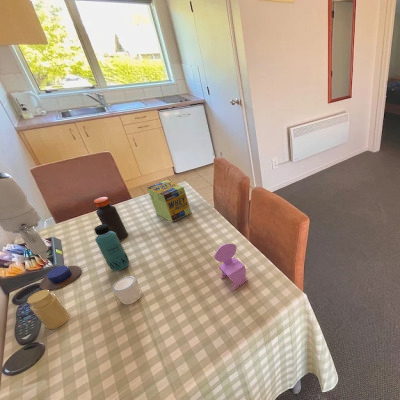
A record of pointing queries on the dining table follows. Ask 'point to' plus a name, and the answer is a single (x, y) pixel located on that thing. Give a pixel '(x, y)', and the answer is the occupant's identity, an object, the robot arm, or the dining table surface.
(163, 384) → the dining table surface
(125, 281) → the shot glass
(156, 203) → the protein box
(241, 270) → the toy chair
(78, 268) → the coaster
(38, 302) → the honey jar
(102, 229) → the beverage bottle
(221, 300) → the dining table surface
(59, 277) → the lid
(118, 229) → the vinegar
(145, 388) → the dining table surface
